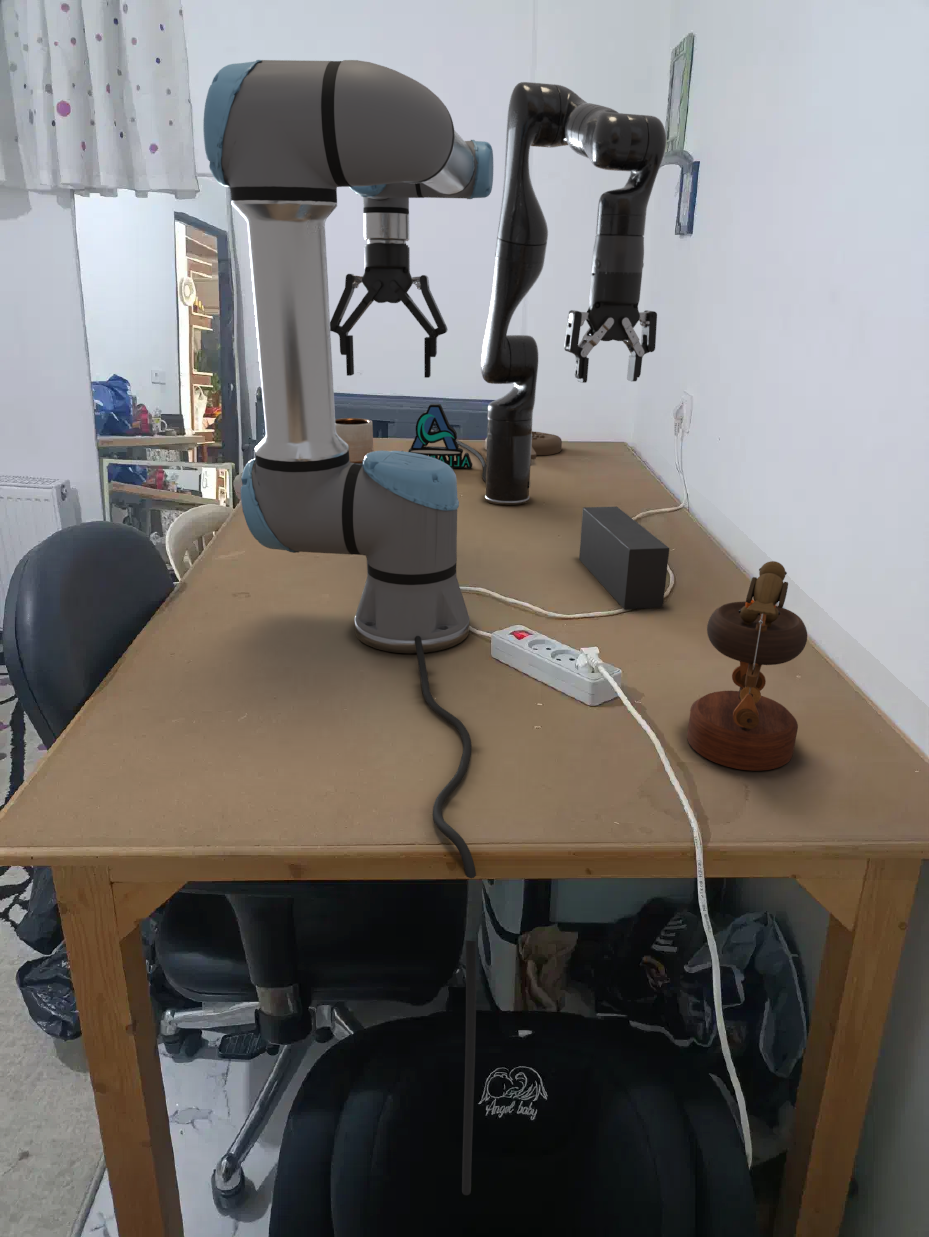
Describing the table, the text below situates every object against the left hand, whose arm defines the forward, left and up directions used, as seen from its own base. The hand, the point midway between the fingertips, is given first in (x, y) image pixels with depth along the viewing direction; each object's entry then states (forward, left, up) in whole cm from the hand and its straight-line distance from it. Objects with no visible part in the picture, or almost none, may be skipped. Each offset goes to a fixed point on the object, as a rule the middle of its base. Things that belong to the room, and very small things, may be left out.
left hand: (388, 376), depth 148 cm
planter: (+59, +21, -28) cm, 68 cm away
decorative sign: (+54, -1, -28) cm, 61 cm away
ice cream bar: (+74, -23, -28) cm, 82 cm away
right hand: (-13, -37, +2) cm, 39 cm away
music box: (-72, -50, -28) cm, 91 cm away
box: (-24, -40, -28) cm, 54 cm away
